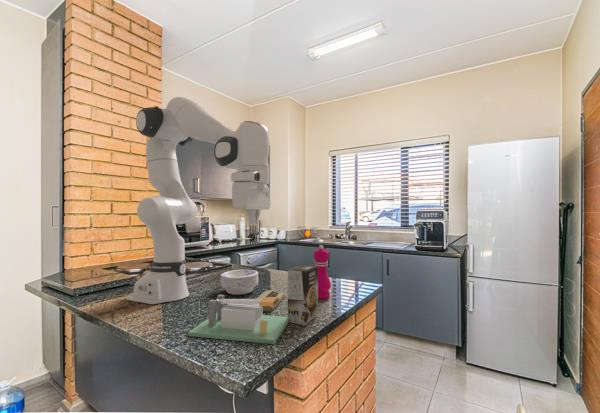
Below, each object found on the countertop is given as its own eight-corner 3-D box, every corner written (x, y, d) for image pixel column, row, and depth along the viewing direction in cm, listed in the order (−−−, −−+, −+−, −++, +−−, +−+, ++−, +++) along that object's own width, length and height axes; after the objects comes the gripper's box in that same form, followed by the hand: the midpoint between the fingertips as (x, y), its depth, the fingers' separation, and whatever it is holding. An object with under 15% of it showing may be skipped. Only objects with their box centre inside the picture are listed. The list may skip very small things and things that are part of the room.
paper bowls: (213, 292, 118) (213, 273, 118) (242, 285, 130) (242, 267, 130) (236, 300, 108) (236, 278, 108) (266, 291, 120) (265, 272, 120)
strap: (210, 306, 82) (210, 301, 82) (219, 300, 87) (219, 296, 87) (273, 306, 78) (273, 302, 78) (278, 300, 83) (278, 296, 83)
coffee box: (305, 326, 84) (305, 271, 84) (286, 322, 87) (286, 269, 87) (318, 316, 92) (318, 265, 92) (301, 313, 95) (300, 264, 95)
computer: (272, 313, 95) (272, 303, 95) (249, 311, 97) (249, 301, 97) (284, 299, 111) (284, 290, 111) (264, 297, 112) (264, 289, 112)
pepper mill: (309, 298, 110) (309, 245, 110) (315, 293, 116) (315, 243, 117) (327, 300, 107) (327, 246, 107) (333, 295, 114) (332, 244, 114)
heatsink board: (188, 335, 77) (188, 305, 77) (217, 314, 93) (217, 289, 93) (274, 344, 72) (274, 311, 72) (290, 320, 88) (290, 293, 88)
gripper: (256, 181, 94) (256, 223, 94) (227, 173, 74) (227, 227, 74) (275, 181, 93) (274, 224, 93) (250, 173, 73) (250, 227, 73)
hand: (253, 225), depth 83 cm, fingers closed
